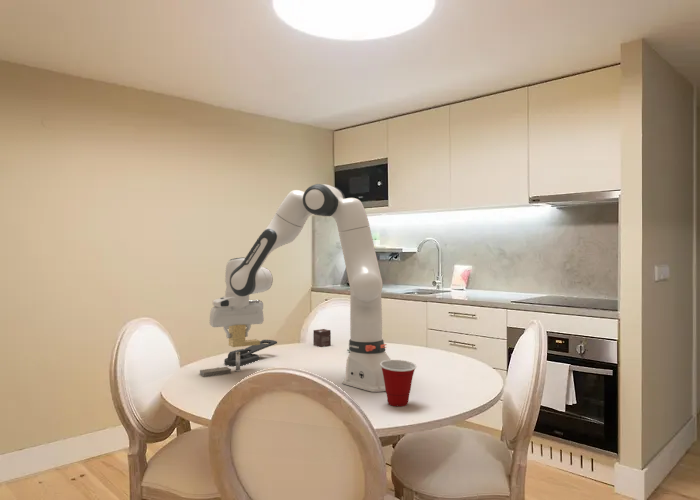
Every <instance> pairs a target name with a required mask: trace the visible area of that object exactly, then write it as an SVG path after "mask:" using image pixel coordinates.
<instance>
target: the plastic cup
mask: <svg viewBox="0 0 700 500" xmlns="http://www.w3.org/2000/svg"><path fill="white" fill-rule="evenodd" d="M380 365H381V367H382V371H383V376H384V383H385V389H386V391H385V393H386V399H387V404H388V406H389V405H390V406H393V407H405V406H407V405H408V403H409V398H410V394H411V388H412V383H413V376H414V373H415V370H416V369H417V367H418V366H417V364H415V363H414V362H412V361H407V360H403V359H402V360H401V359H391V360H386V361H382V362H381V363H380Z"/></svg>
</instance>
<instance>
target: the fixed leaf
mask: <svg viewBox="0 0 700 500" xmlns="http://www.w3.org/2000/svg"><path fill="white" fill-rule="evenodd" d="M241 371H242V369H241V366H240V352H236V367H235V369H234V372H238V373H239V372H241ZM231 373H232V369H231V368H229V366H223V367H221V366H220V367H215V368H207V369H206V368H205V369H200V370H199V375H200V376H202V377H203V378H207V377H213V376H222V375H230V374H231Z"/></svg>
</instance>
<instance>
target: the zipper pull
mask: <svg viewBox="0 0 700 500" xmlns="http://www.w3.org/2000/svg"><path fill="white" fill-rule="evenodd" d="M259 341H260V345H251V346H248V347H247V346H246V348H241V349H236V350H232V351H229V353H228V355H227V358H224V359H223V362H224V364H225V366H227V365H229V366H228V367H234V366H236V352H240V367H243V365H244V366H247V365H250V364H253V363H256V362H255V361H257V362H259V361H260V356H259V355H258V354H256V353H257V352H259V351H262V350H264V349H267V348H269V347H271V346H275V345H277V344H278V341H277V340H274V339H262V340H259ZM258 360H259V361H258ZM252 362H253V363H252ZM249 363H250V364H249ZM246 364H247V365H246Z"/></svg>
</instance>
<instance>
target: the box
mask: <svg viewBox="0 0 700 500" xmlns="http://www.w3.org/2000/svg"><path fill="white" fill-rule="evenodd" d="M312 334H313V335H312V336H313V339H312V340H313V344H312V345H313V346H314V347H318V348H322V347H328V346H331V345H332V344H331V338H332V337H331V334H332V333H331V329H327V328H326V329H325V328H320V329H313V333H312Z"/></svg>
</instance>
